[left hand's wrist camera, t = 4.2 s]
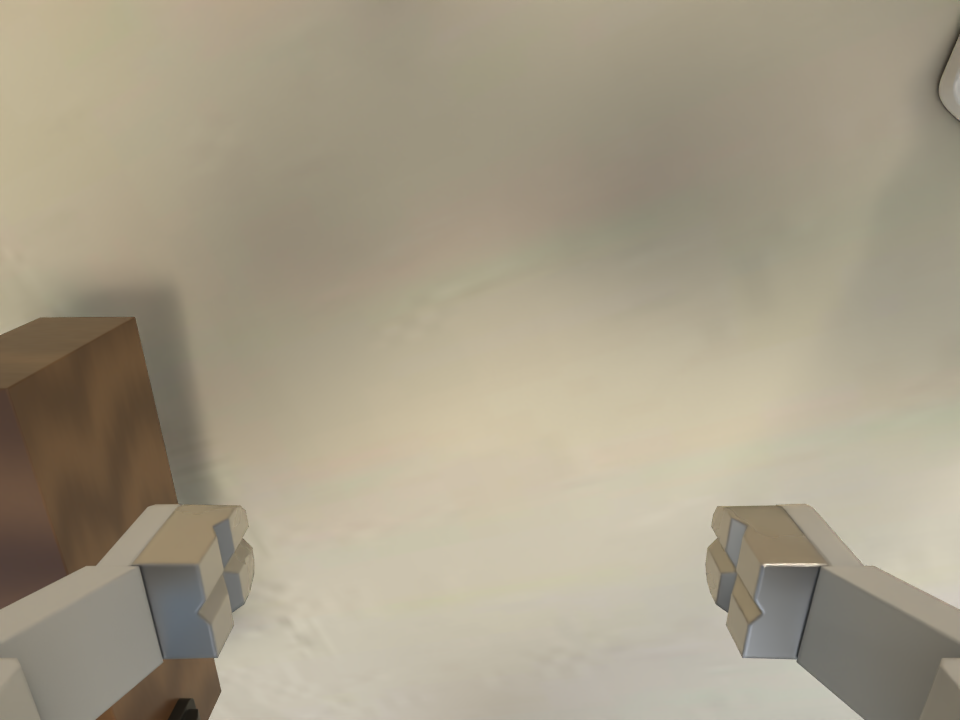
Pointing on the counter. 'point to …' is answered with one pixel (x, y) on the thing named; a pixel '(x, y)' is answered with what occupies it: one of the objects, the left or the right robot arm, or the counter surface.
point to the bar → (84, 473)
